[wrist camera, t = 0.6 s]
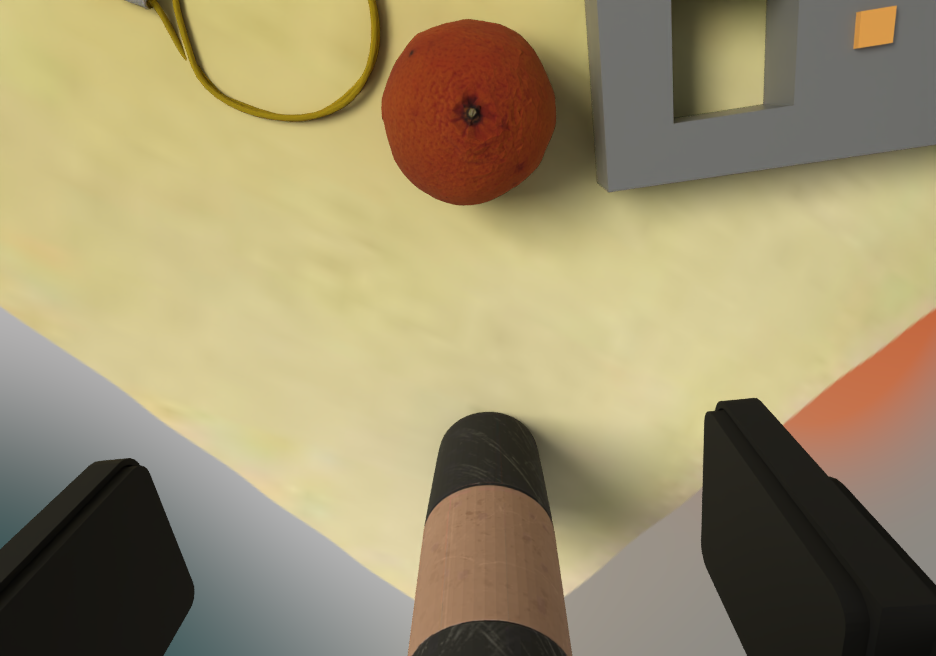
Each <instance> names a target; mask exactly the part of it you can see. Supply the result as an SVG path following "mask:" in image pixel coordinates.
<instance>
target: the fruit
mask: <svg viewBox="0 0 936 656" xmlns="http://www.w3.org/2000/svg"><path fill="white" fill-rule="evenodd" d="M381 109H382V120H383V121H384V125H385V130H386V134H387V138H388V141H389V145H390V148H391V151H392V155H393V156H394V160H395V162H396V163H397V165H398V166H399V168H400V169H401V171H402V172H403V174H404V175H405V176H406V177H407V178H408V179H409V180H410V181H411V182H412V183H413V184H414V185H415V186H416V187H417V188H419V189H420V190H422V191H423V192H425V193H427V194H429V195H430V196H432V197H434V198H435V199H438V200H441V201H443V202H446V203H450V204H454V205H475V204H481V203H484V202H487V201H490V200H493V199H495V198H497V197H499V196H501V195H503V194H504V193H506V192H508V191H509V190H511V189H512V188H514V187H516V186H517V185H519V184H520V183H521V182H522V181H524V180H525V179H526V178H527V177H528V176H529V175H530V174H531V173H532V172H534V170H535V169H536V168H537V167H538V166H539V164H540V162H541V160H542V158H543V155H544V153H545V150H546V148H547V146H548V143H549V141H550V139H551V137H552V134H553V131H554V129H555V124H556V106H555V95H554V92H553V89H552V86H551V84H550V81H549V79H548V76H547V74H546V72H545V70H544V67H543V65H542V63H541V61H540V60H539V58H538V56H537V54H536V52H535V51H534V49H533V48H532V47H531V46H530V45H529V43H528V42H527V41H526V40H525V39H524V38H523V37H522V36H521V35H519V34H518V33H517V32H515V31H513V30H511V29H509V28H507V27H505V26H503V25H500V24H497V23H491V22H485V21H478V20H472V19H463V20H459V21H455V22H450V23H445V24H442V25H439V26H436V27H433V28H430V29H428V30H426V31H423V32H421V33H418V34H417V35H416V36H415V37H414V38H413V39H412V40H411V41H410V42H409V44H408V45H407V46H406V48H405V49H404V51H403V52H402V54H401V55H400V56H399V58H398V59H397V60H396V62H395V64H394V66H393V69H392V71H391V73H390V76H389V78H388V81H387V84H386V87H385V90H384V93H383V97H382V107H381Z"/></svg>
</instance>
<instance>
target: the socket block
mask: <svg viewBox="0 0 936 656" xmlns="http://www.w3.org/2000/svg"><path fill="white" fill-rule="evenodd" d="M585 12H586V26H587V41H588V56H589V71H590V85H591V100H592V115H593V130H594V145H595V159H596V174H597V183H598V184H599V185H600V186H601V187H603V188H604V189H605V190H606V191H608V192H613V191H620V190H627V189H634V188H641V187H648V186H655V185H661V184H668V183H675V182H682V181H689V180H696V179H703V178H709V177H716V176H723V175H730V174H737V173H744V172H751V171H758V170H764V169H771V168H778V167H785V166H792V165H799V164H806V163H813V162H819V161H826V160H833V159H840V158H847V157H854V156H861V155H868V154H874V153H881V152H888V151H895V150H902V149H909V148H916V147H923V146H929V145H936V0H767V9H766V39H765V69H764V99H763V104H762V105H756V106H749V107H743V108H736V109H730V110H723V111H717V112H710V113H704V114H698V115H691V116H685V117H678V118H673V72H672V22H671V0H585Z"/></svg>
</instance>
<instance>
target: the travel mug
mask: <svg viewBox="0 0 936 656" xmlns="http://www.w3.org/2000/svg"><path fill="white" fill-rule="evenodd" d="M408 656H572V651H571V644H570V638H569V630H568V623H567V616H566V609H565V602H564V595H563V588H562V581H561V574H560V567H559V560H558V553H557V546H556V539H555V532H554V526H553V521H552V517H551V512H550V507H549V502H548V497H547V492H546V487H545V482H544V477H543V472H542V467H541V462H540V458H539V453H538V449H537V446H536V442H535V440H534V438H533V436H532V435H531V433H530V432H529V430H528V429H527V428H526V427H525V426H524V425H523V424H522V423H520V422H519V421H517V420H516V419H514V418H512V417H510V416H507V415H504V414H500V413H494V412H482V413H476V414H472V415H469V416H466V417H464V418H462V419H460V420H459V421H457V422H456V423H455V424H454V425H452V426H451V427H450V429H449V430H448V431H447V432H446V434H445V435H444V437H443V439H442V441H441V445H440V448H439V452H438V457H437V462H436V468H435V473H434V478H433V483H432V489H431V494H430V499H429V505H428V510H427V515H426V521H425V527H424V533H423V541H422V548H421V556H420V564H419V572H418V579H417V587H416V595H415V603H414V611H413V618H412V626H411V635H410V642H409V649H408Z"/></svg>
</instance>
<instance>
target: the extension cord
mask: <svg viewBox="0 0 936 656" xmlns="http://www.w3.org/2000/svg"><path fill="white" fill-rule="evenodd" d="M125 1H128V2H131V3H133V4H136V5H139V6H142V7H144V8H146V9H151V8H153V7H154V9H155V10H156V12H157V13H158V15H159V16H160V18H161V20H162V21H163V23H164V25H165V27H166V29H167V31H168V33H169V34H170V36H171V38H172V40H173V42H174V44H175V46H176V47H177V49H178V51H179V52H180V54H181V55H182V57H183V58H184V59H185V60H187V58H186V56H185V52H184V50H183V47H182V45H181V43H180V40H179V38H178V36H177V34H176V33H175V31H174V29H173V27H172V25H171V23H170V21H169V19H168V18H167V16H166V14H165V13H164V11H163V9H162V8H161V6H160V5H159V3H158V2H157V0H125ZM172 2H173V8H174V12H175V16H176V19H177V23H178V27H179V30H180V34H181V37H182V40H183V43H184V46H185V49H186V52H187V55H188V58H189V61H190V64H191V67H192V69H193V71H194V73H195V75H196V77H197V78H198V80H199V81H200V82H201V83H202V85H203V86H204V87H205V88H206V89H207V90H208V91H209V92H210V93H211V94H212V95H214V96H215V97H216V98H217V99H219V100H221V101H222V102H224V103H225V104H227V105H228V106H231V107H233V108H235V109H237V110H239V111H241V112H244V113H247V114H250V115H253V116H257V117H261V118H266V119H271V120H281V121H290V122H296V121H307V120H313V119H316V118H320V117H323V116H326V115H329V114H332V113H334V112H336V111H338V110H340V109H342V108H344V107H345V106H346V105H348V104H349V103H350V102H351V101H353V100H354V98H355V97H356V96H357V95H358V94H359V93H360V91H361V90H362V88H363V86H364V85H365V83H366V81H367V79H368V77H369V75H370V74H371V72H372V70H373V67H374V65H375V62H376V59H377V55H378V51H379V43H380V23H379V15H378V9H377V5H376V1H375V0H368V3H369V7H370V16H371V45H370V53H369V57H368V61H367V65H366V68H365V70H364V73H363V74H362V76H361V77H360V79H359V80H358V81H357V82H356V83H355V85H354V86H353V87H352V88H351V89H349V90H348V91H347V92H346V93H345V94H344V95H343V96H342V97H341V98H339V99H338V100H337V101H335V102H334V103H332V104H331V105H329V106H327V107H326V108H324V109H322V110H320V111H317V112H314V113H307V114H301V115H282V114H275V113H272V112H269V111H265V110H262V109H259V108H256V107H253V106H251V105H248V104H245V103H243V102H240V101H237V100H235V99H232V98H229V97H227V96H225V95H224V94H223V93H221V92H220V91H219V90H218V89H217V88H216V87H215V86H214V85H213V83H212V82H211V81H210V80H209V79H208V78H207V76H206V75H205V74H204V72H203V71H202V70H201V68H200V67H199V66H198V65H197V63H196V60H195V57H194V53H193V50H192V47H191V44H190V41H189V38H188V35H187V31H186V28H185V24H184V21H183V17H182V14H181V10H180V4H179V0H172Z"/></svg>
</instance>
